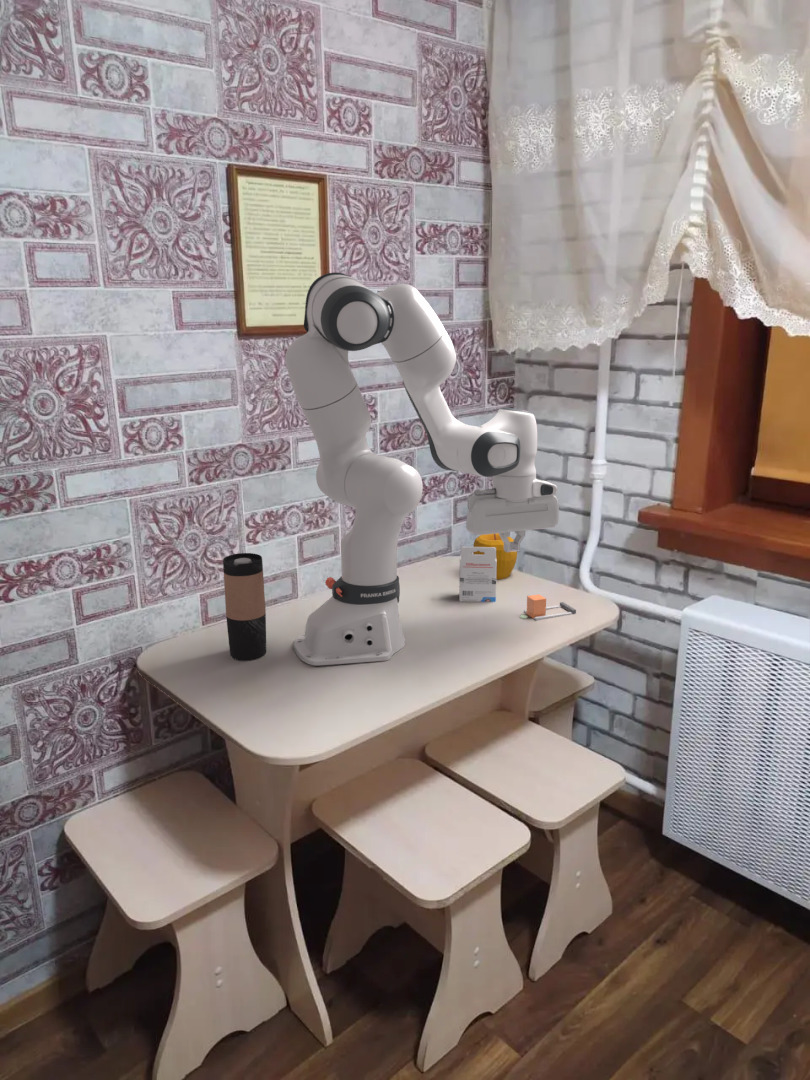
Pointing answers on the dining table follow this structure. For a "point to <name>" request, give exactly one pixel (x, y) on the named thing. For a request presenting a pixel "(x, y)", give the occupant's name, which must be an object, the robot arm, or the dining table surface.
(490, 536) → the apple
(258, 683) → the dining table surface
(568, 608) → the breaker panel
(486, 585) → the ink box
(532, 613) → the block
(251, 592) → the travel mug
